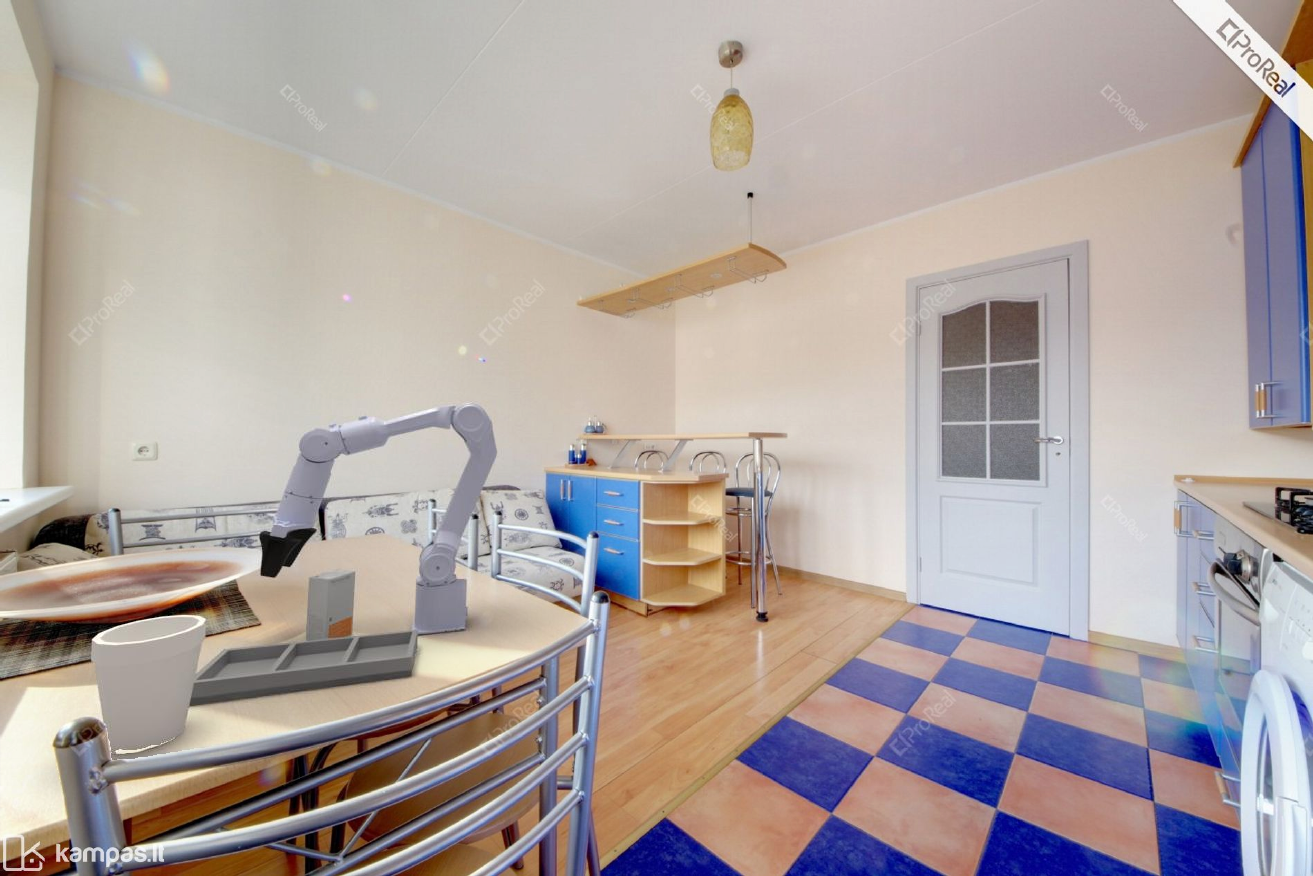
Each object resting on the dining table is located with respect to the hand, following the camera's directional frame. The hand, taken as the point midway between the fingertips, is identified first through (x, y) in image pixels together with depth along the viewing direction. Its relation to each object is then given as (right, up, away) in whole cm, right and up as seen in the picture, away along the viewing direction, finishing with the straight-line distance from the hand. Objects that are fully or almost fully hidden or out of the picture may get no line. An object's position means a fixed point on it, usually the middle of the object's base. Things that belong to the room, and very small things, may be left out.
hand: (276, 571), depth 85 cm
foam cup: (+5, -13, -26) cm, 30 cm away
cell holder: (+13, -13, -9) cm, 21 cm away
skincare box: (+8, -13, +3) cm, 16 cm away
